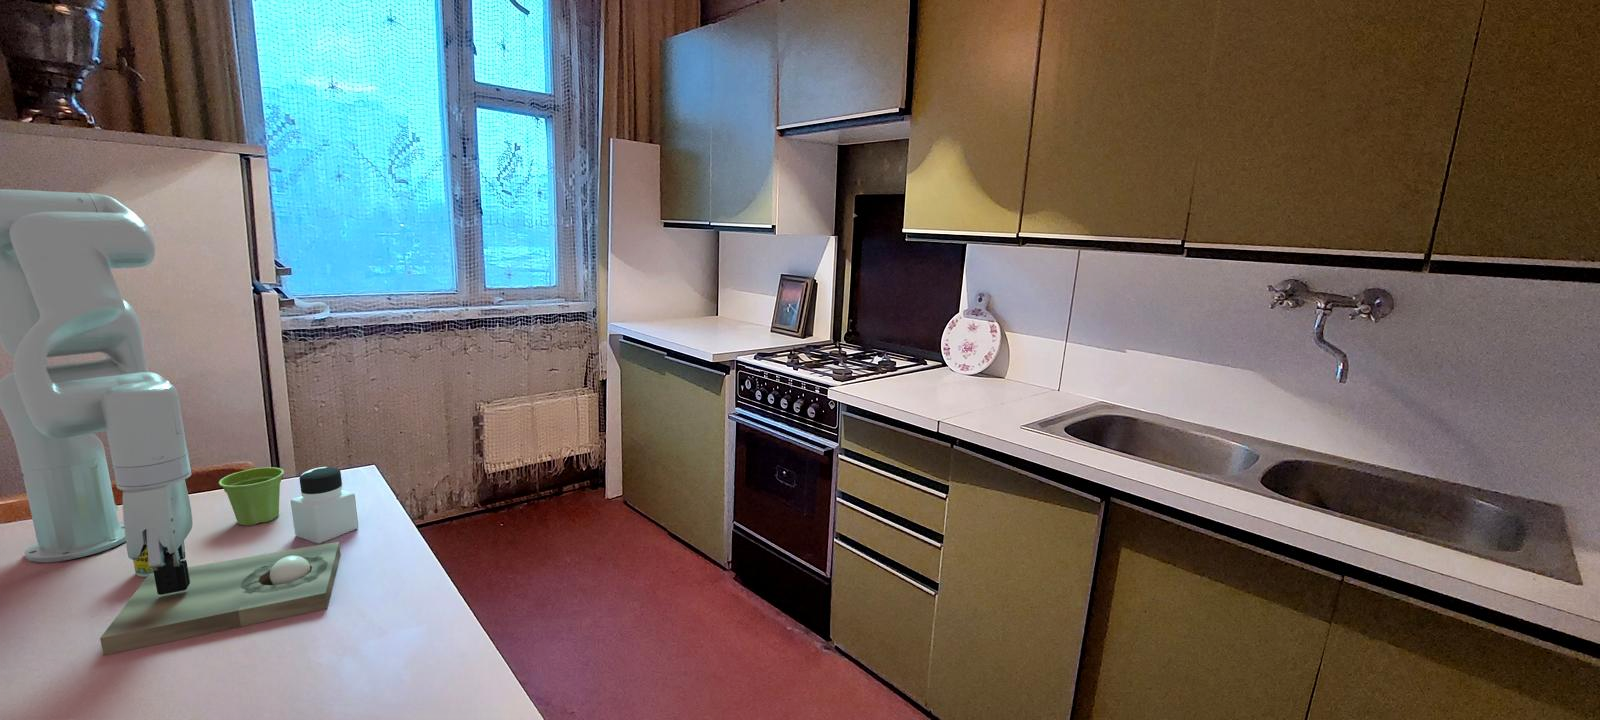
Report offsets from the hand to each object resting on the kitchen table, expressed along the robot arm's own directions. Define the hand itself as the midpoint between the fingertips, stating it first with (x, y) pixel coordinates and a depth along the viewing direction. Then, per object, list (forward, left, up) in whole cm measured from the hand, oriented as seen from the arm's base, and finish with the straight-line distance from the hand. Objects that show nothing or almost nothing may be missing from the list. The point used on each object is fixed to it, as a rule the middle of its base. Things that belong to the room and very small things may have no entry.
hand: (174, 589), depth 95 cm
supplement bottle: (-16, -6, -3) cm, 17 cm away
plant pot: (-32, +4, -3) cm, 32 cm away
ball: (0, +13, -1) cm, 13 cm away
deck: (0, +7, -3) cm, 8 cm away
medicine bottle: (-20, +16, -3) cm, 26 cm away
